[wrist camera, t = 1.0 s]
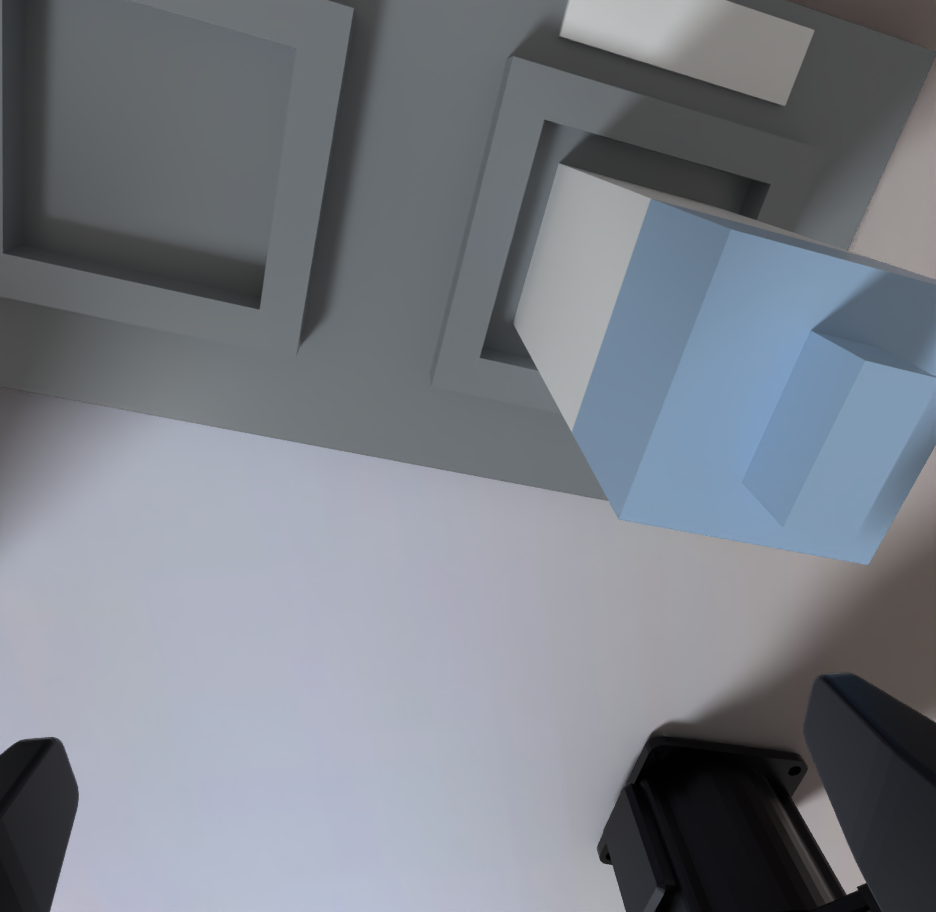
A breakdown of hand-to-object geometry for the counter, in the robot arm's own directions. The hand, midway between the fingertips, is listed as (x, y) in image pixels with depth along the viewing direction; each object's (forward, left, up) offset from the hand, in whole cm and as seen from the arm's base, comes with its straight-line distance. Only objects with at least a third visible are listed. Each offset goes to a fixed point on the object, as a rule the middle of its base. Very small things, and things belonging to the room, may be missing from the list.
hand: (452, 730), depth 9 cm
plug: (-4, -4, -12) cm, 13 cm away
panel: (+2, -4, -13) cm, 14 cm away
